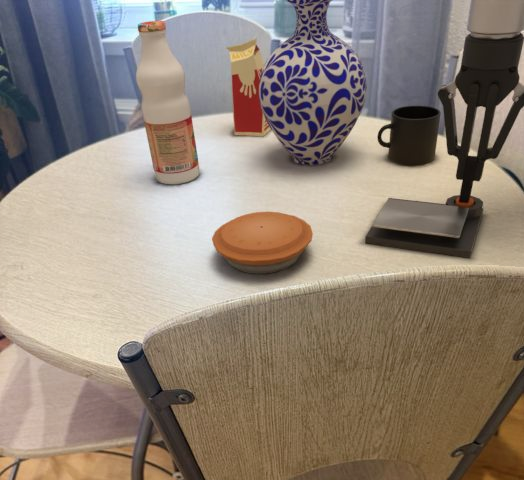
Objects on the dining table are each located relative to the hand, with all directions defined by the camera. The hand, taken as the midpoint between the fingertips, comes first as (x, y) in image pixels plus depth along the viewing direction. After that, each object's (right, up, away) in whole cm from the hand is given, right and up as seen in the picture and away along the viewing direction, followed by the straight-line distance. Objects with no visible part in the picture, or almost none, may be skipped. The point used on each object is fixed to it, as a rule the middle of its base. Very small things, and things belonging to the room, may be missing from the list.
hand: (464, 198), depth 87 cm
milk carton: (-35, +30, +46) cm, 65 cm away
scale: (-6, -5, +1) cm, 8 cm away
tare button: (0, -2, +1) cm, 2 cm away
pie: (-33, -10, -2) cm, 34 cm away
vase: (-22, +17, +29) cm, 40 cm away
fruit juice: (-51, +12, +26) cm, 58 cm away
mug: (-3, +15, +25) cm, 29 cm away
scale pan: (-8, -4, -3) cm, 9 cm away
